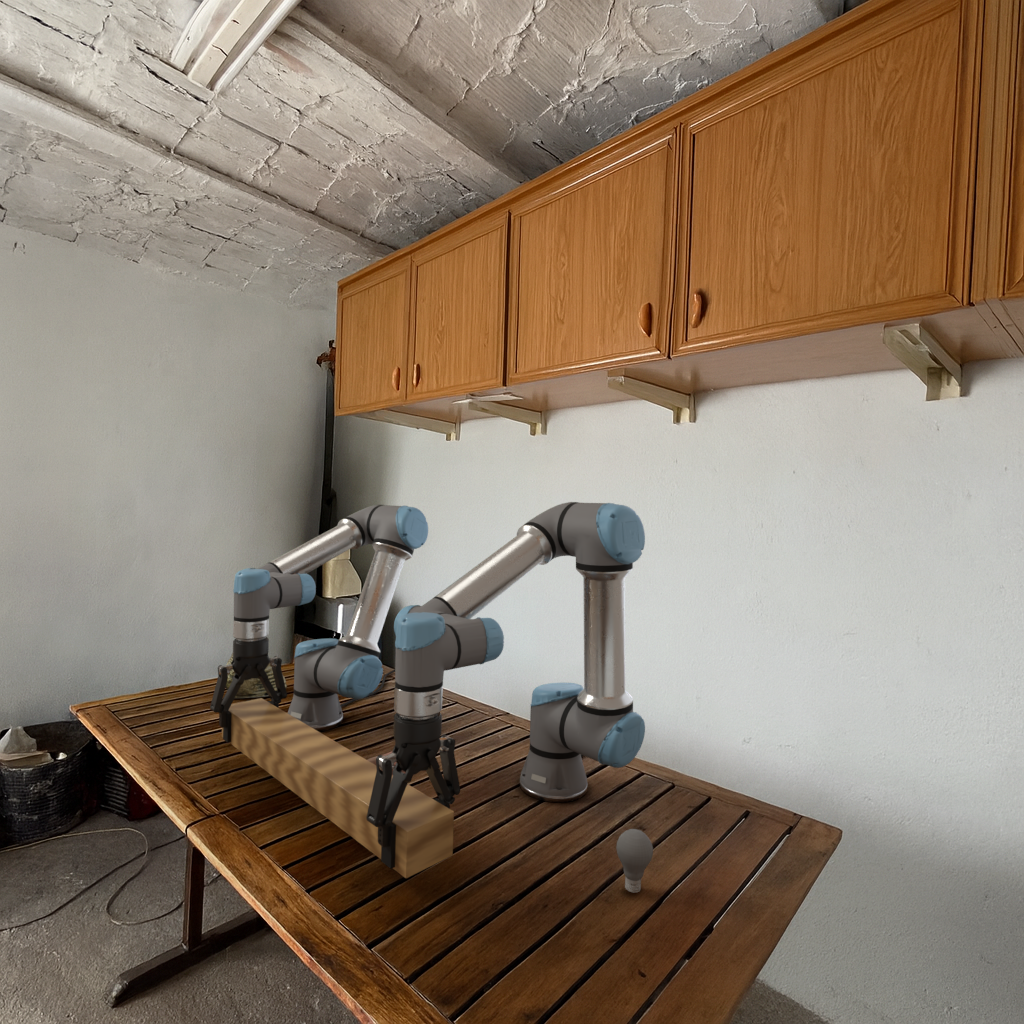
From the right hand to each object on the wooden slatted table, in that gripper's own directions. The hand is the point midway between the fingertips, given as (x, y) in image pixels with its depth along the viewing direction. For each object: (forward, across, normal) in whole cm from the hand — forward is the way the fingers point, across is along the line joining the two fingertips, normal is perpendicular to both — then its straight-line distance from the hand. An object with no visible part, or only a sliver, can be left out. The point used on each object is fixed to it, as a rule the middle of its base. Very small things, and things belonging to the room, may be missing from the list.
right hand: (414, 851), depth 101 cm
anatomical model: (+8, +24, +44) cm, 51 cm away
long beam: (0, 0, +31) cm, 31 cm away
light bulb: (+8, +29, -22) cm, 37 cm away
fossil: (+8, +22, +115) cm, 117 cm away
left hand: (0, -1, +63) cm, 63 cm away
